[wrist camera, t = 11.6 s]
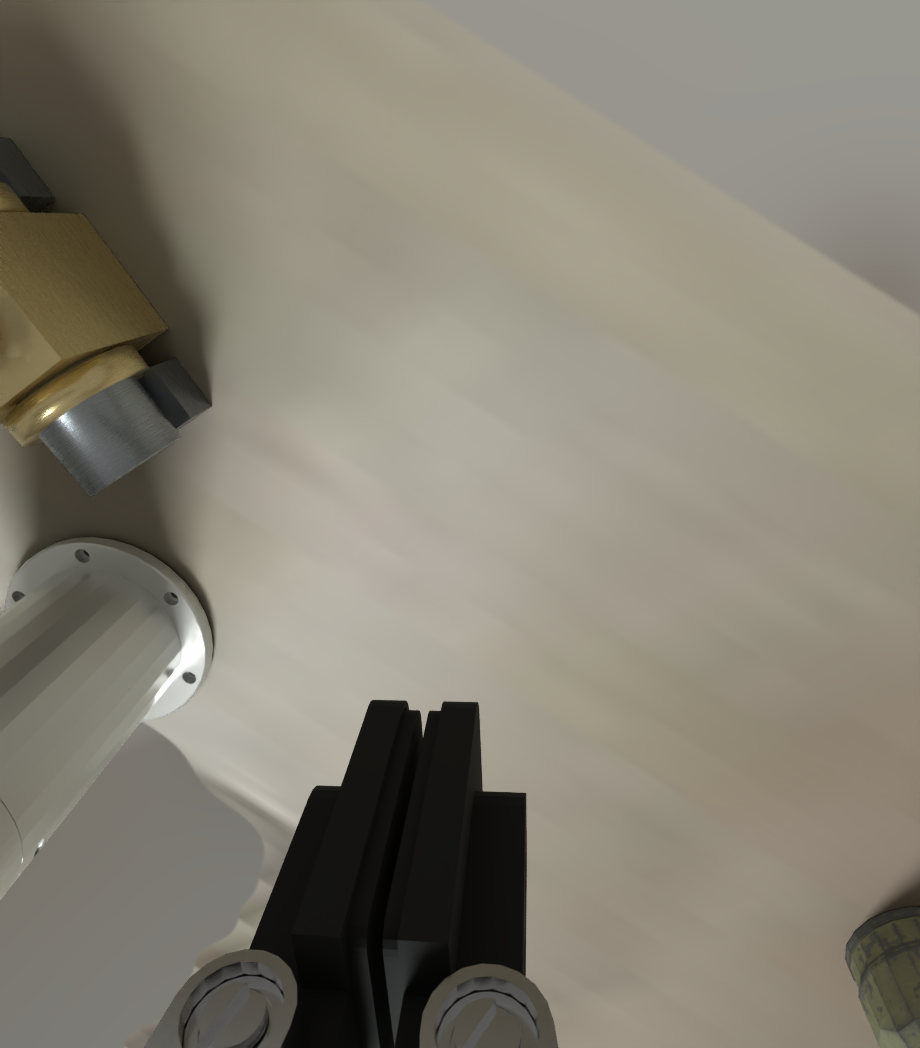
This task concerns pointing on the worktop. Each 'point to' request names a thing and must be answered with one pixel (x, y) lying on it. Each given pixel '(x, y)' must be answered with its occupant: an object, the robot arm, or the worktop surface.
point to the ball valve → (78, 342)
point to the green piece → (889, 975)
